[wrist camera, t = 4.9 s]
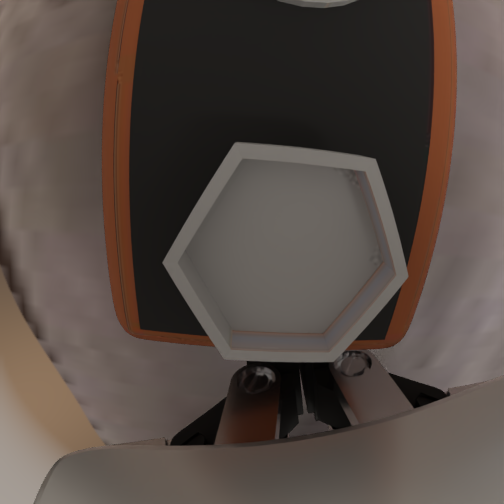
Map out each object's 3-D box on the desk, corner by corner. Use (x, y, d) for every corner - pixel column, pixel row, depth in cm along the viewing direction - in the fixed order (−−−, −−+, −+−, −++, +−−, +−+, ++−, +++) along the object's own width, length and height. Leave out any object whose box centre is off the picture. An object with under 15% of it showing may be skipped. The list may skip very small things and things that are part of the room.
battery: (199, 202, 12) (86, 392, 3) (210, 38, 10) (125, -146, 1) (307, 209, 13) (433, 400, 3) (322, 47, 10) (479, -93, 1)
